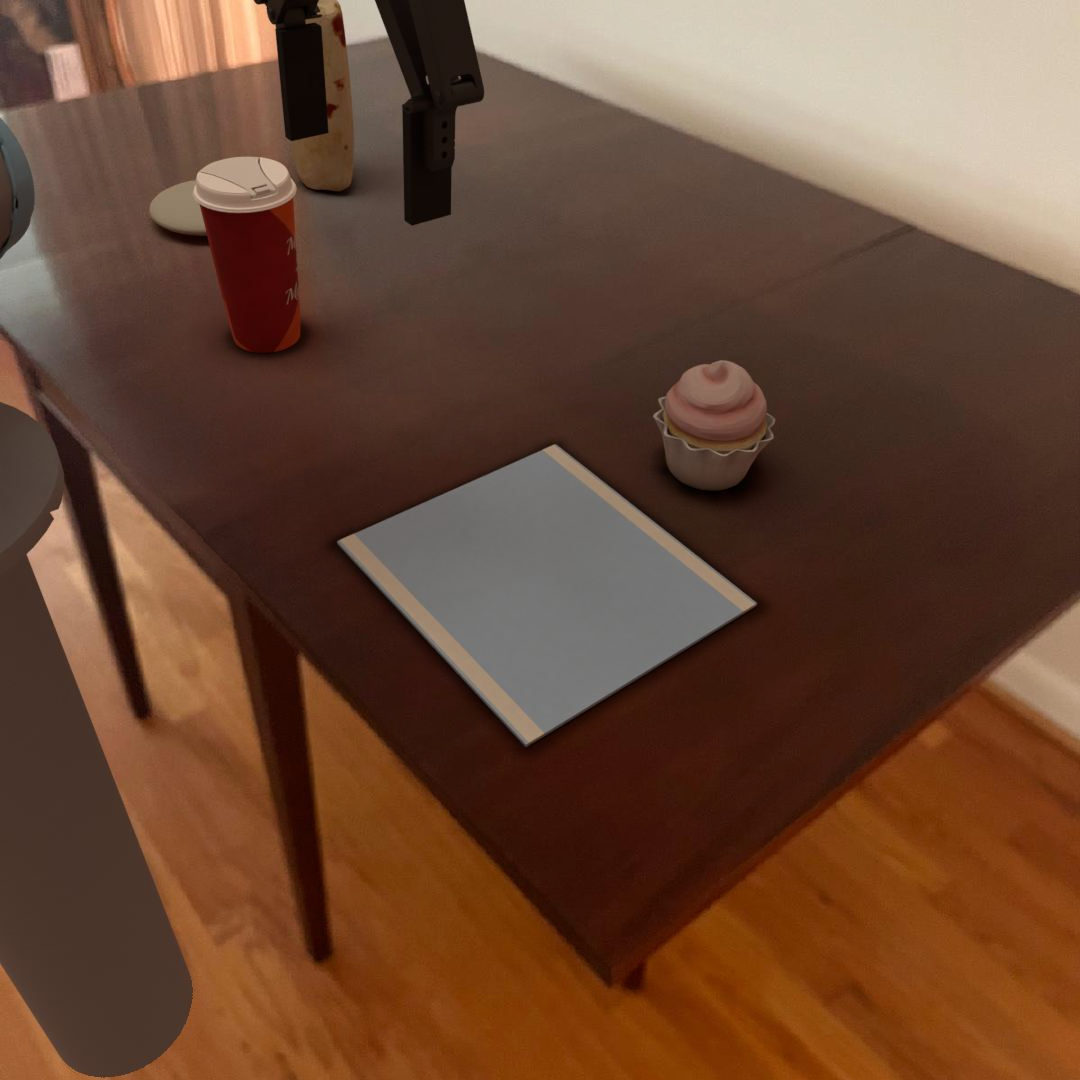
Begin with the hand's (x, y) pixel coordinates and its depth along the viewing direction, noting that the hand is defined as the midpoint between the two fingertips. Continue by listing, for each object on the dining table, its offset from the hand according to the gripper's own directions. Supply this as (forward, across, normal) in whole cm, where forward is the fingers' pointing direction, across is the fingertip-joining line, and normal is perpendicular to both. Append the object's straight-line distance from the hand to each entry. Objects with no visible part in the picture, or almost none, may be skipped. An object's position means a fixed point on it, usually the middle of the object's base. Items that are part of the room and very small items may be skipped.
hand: (364, 174), depth 64 cm
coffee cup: (+25, +24, -3) cm, 34 cm away
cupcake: (+24, -14, -22) cm, 35 cm away
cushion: (+25, +48, -10) cm, 55 cm away
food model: (+25, +49, -25) cm, 61 cm away
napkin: (+24, -15, -4) cm, 29 cm away
